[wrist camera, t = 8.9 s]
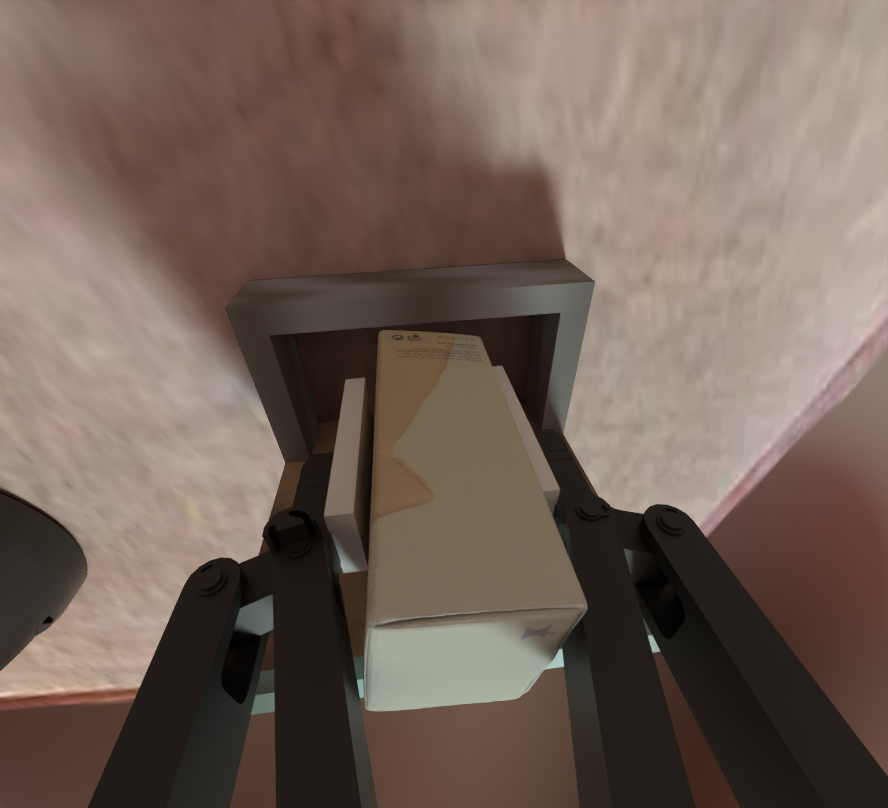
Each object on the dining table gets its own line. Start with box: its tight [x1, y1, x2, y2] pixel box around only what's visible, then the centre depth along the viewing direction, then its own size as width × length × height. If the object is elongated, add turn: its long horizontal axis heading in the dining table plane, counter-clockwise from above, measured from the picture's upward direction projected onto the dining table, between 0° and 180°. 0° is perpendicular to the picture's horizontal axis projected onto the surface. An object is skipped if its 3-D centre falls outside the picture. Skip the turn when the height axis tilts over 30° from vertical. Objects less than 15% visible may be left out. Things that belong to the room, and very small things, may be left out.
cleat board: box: [225, 259, 660, 715], centre depth 15 cm, size 14×10×13 cm
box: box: [363, 330, 588, 711], centre depth 13 cm, size 5×4×11 cm
